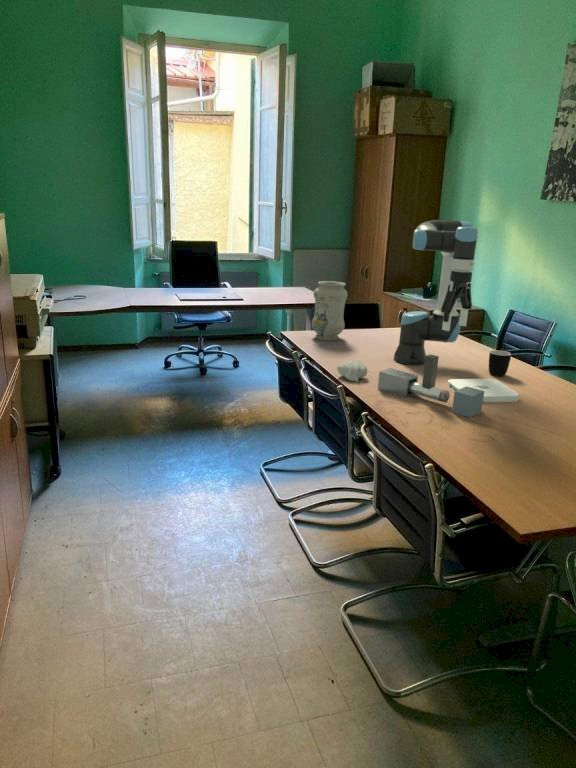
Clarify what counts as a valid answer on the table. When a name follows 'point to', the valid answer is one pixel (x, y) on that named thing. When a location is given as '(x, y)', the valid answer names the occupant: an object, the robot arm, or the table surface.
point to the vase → (329, 310)
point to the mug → (499, 362)
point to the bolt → (429, 382)
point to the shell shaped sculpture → (352, 370)
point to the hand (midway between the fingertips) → (454, 328)
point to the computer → (486, 389)
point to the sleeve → (396, 382)
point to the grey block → (468, 401)
